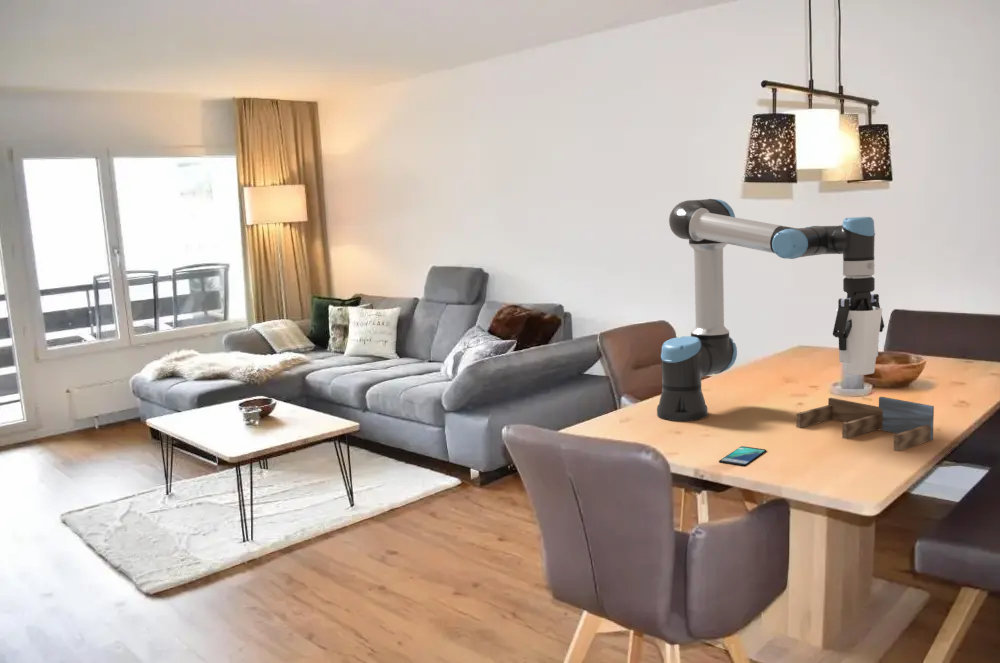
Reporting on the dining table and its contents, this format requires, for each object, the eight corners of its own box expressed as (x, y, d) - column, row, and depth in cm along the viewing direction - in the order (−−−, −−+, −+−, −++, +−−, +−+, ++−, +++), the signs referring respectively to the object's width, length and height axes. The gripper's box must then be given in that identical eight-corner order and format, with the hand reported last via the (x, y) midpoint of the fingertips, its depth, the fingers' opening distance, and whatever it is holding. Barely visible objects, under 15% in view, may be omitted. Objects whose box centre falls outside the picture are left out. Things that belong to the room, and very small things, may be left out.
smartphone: (717, 461, 204) (741, 445, 216) (717, 464, 204) (741, 448, 216) (745, 465, 200) (767, 449, 211) (745, 468, 200) (767, 452, 212)
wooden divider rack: (898, 451, 206) (898, 416, 205) (796, 427, 232) (796, 396, 230) (932, 439, 214) (933, 406, 212) (830, 417, 240) (831, 387, 238)
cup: (832, 375, 217) (832, 310, 214) (840, 368, 225) (840, 306, 223) (878, 377, 211) (878, 311, 208) (885, 370, 219) (885, 306, 217)
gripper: (843, 281, 205) (843, 367, 208) (899, 273, 217) (898, 354, 220) (817, 280, 211) (818, 363, 214) (873, 272, 224) (873, 351, 227)
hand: (859, 359), depth 217 cm, fingers closed on cup, 11 cm apart
